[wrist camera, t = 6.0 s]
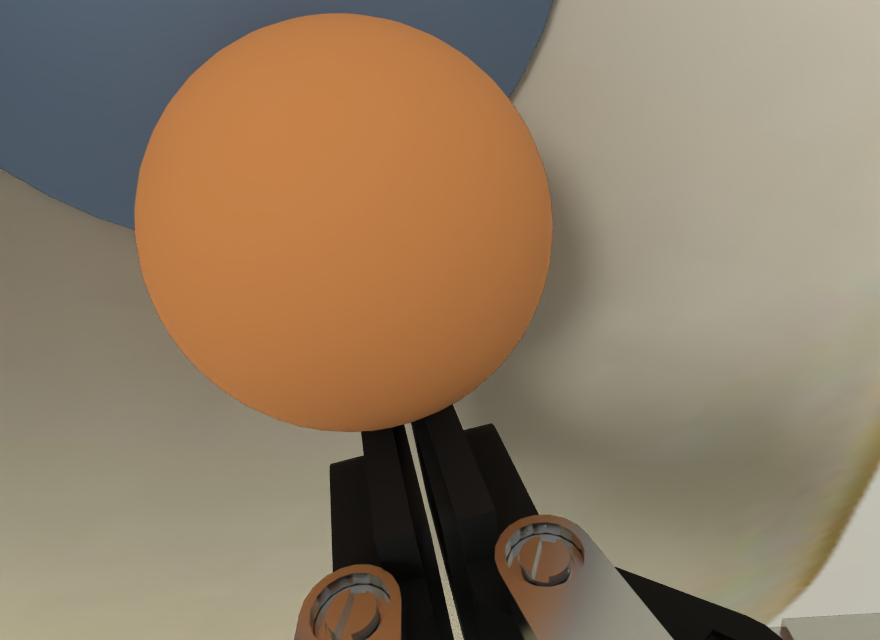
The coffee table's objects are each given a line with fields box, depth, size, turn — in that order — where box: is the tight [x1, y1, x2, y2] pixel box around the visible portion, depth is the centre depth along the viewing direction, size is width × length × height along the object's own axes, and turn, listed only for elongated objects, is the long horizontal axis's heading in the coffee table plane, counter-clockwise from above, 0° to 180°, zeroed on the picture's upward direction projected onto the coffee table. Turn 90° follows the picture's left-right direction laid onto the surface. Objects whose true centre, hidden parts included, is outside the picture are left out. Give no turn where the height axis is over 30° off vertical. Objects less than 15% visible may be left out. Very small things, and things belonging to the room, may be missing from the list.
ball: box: [134, 13, 553, 432], centre depth 9 cm, size 6×6×6 cm
